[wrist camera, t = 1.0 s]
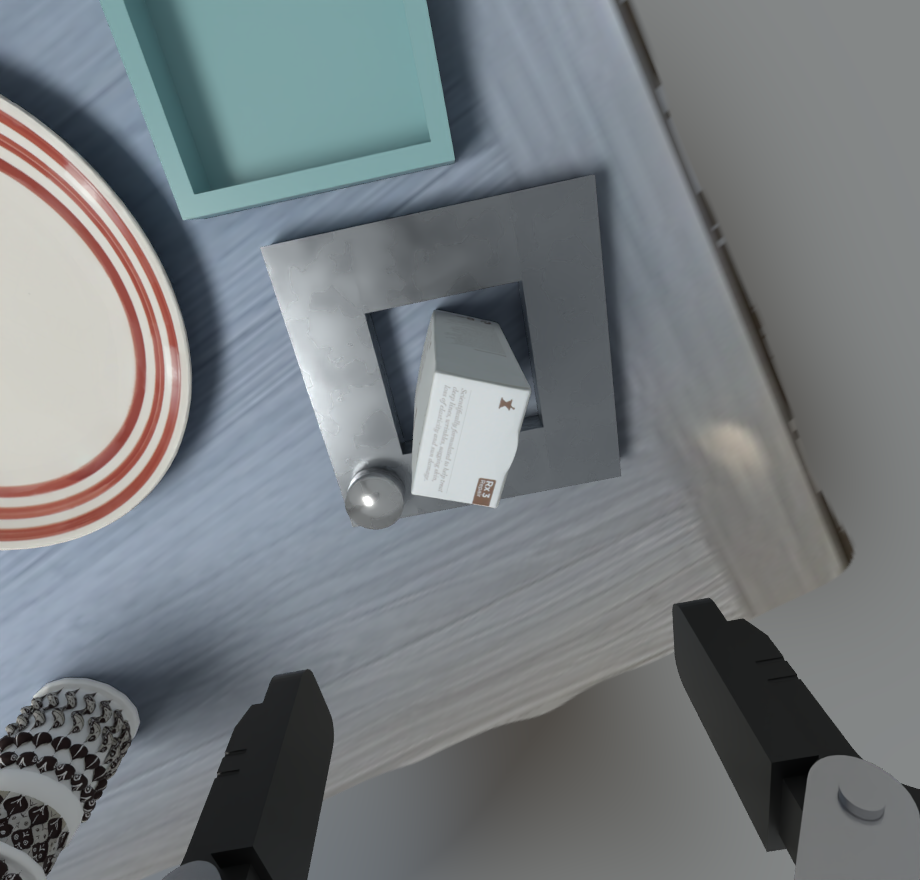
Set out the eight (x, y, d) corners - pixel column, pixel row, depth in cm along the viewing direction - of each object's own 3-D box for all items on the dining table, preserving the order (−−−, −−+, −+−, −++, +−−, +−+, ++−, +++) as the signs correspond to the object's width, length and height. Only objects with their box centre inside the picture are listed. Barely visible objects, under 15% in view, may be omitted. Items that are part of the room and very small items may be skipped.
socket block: (357, 511, 38) (349, 541, 35) (270, 244, 31) (250, 249, 27) (612, 462, 37) (629, 488, 34) (585, 176, 30) (603, 172, 27)
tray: (206, 218, 30) (183, 220, 27) (86, -111, 24) (42, -151, 22) (453, 163, 29) (455, 160, 27) (389, -188, 24) (383, -239, 21)
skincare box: (431, 307, 32) (427, 362, 21) (503, 322, 33) (536, 384, 22) (413, 402, 35) (400, 496, 24) (480, 415, 35) (499, 512, 24)
